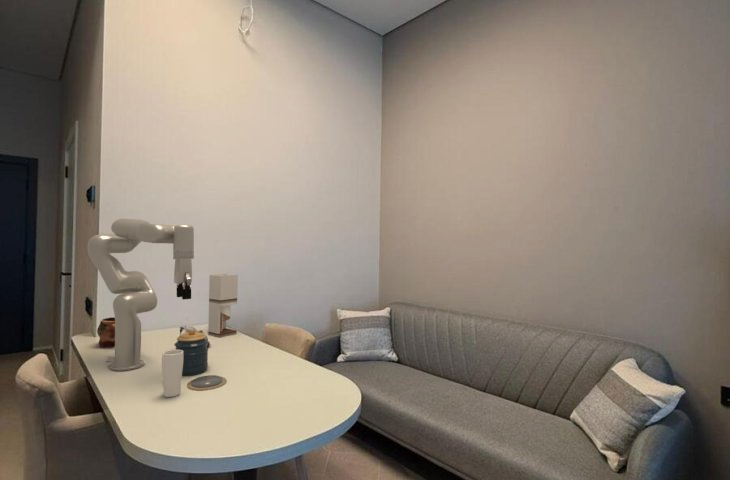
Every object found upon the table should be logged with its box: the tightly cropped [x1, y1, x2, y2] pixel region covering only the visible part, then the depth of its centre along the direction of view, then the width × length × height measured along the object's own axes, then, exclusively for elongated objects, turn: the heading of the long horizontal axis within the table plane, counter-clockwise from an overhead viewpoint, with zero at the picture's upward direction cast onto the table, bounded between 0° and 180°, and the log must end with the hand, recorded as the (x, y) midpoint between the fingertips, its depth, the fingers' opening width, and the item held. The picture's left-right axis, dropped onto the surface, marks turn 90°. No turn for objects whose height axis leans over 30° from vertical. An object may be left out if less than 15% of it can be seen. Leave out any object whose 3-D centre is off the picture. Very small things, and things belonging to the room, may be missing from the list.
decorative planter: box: [96, 316, 115, 349], centre depth 193 cm, size 20×12×14 cm, turn 50°
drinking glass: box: [161, 349, 184, 398], centre depth 133 cm, size 7×7×15 cm
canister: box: [174, 328, 209, 377], centre depth 158 cm, size 13×13×18 cm
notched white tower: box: [207, 273, 239, 338], centre depth 222 cm, size 11×11×35 cm
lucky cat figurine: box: [178, 325, 211, 349], centre depth 191 cm, size 15×12×14 cm
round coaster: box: [186, 374, 228, 391], centre depth 144 cm, size 14×14×1 cm
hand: (183, 297), depth 152 cm, fingers open, 9 cm apart
